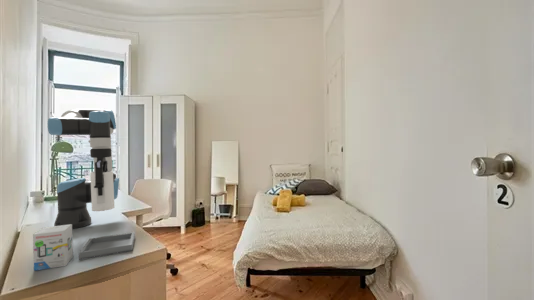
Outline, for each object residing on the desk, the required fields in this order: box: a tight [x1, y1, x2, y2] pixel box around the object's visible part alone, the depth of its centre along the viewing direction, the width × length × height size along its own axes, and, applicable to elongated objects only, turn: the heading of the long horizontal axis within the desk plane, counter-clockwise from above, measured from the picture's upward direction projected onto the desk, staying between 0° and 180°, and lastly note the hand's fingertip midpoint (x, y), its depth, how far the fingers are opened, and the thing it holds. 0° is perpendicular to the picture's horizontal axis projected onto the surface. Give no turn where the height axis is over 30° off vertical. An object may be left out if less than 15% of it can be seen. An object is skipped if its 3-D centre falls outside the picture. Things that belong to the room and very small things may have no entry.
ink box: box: [32, 224, 74, 271], centre depth 87 cm, size 8×8×12 cm
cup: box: [89, 170, 115, 212], centre depth 112 cm, size 8×8×16 cm
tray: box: [78, 231, 136, 261], centre depth 100 cm, size 16×16×2 cm
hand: (103, 201), depth 112 cm, fingers closed on cup, 8 cm apart
